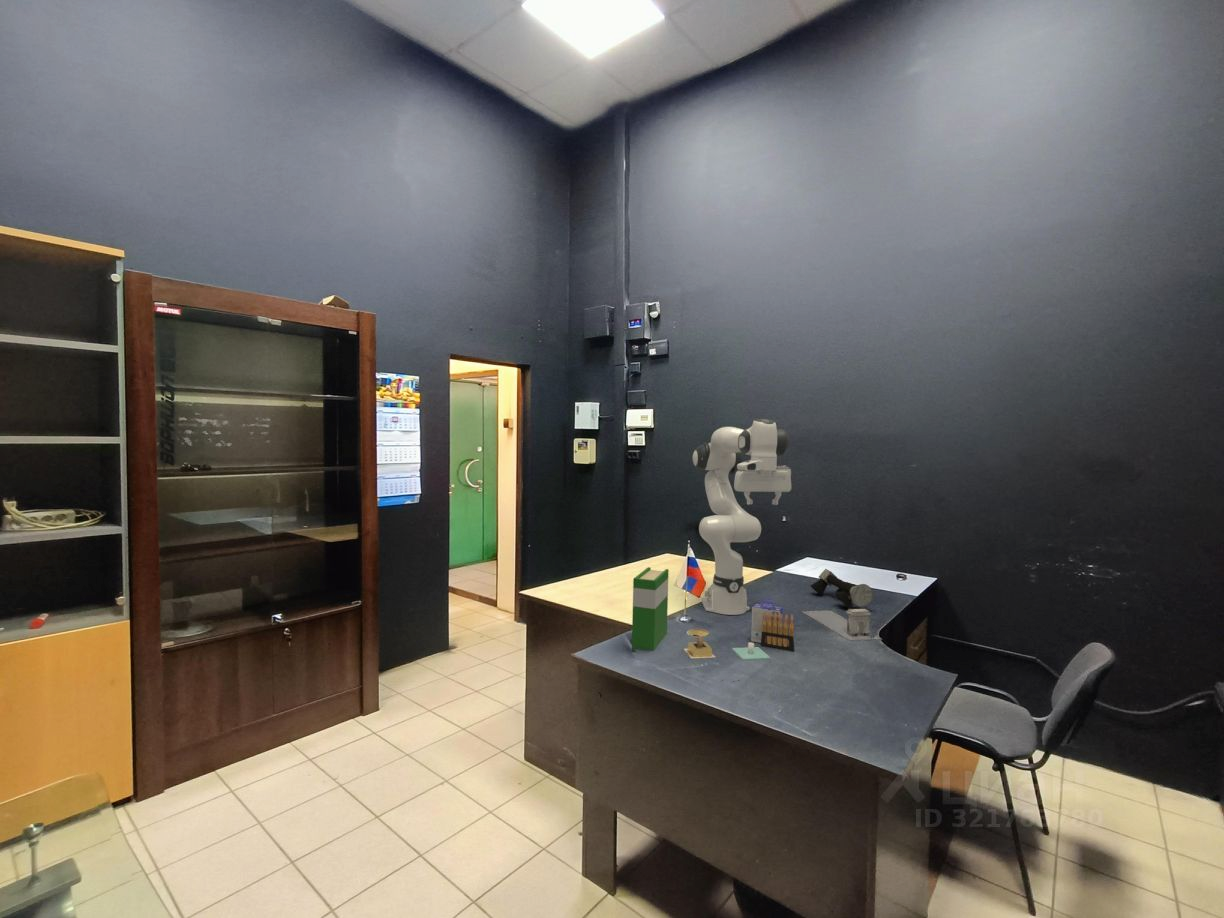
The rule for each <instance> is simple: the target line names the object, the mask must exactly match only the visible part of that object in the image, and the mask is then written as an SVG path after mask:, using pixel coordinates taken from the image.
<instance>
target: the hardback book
mask: <svg viewBox="0 0 1224 918" xmlns="http://www.w3.org/2000/svg"><path fill="white" fill-rule="evenodd" d="M651 568H652V567H649V566H648V567H646V568H645V569H644V570H643V571H641V572H639V574H637V575H636V576H635V577H634V578H633V580H632V581H633V582H632V622H631V624H632V628H631V632H632V633H631V652H632V653H635V652H636V650H635V649H641V650H647V651H653V652H654V651H655V650H656V649H657V647H658V646H659V645H660V643H661V642H662V640H663V639H664V638H665V636H666V635H667V634H668V610H669V609H668V605H669V601H668V600H669V572H670V571H669V569H667V568H665V570H657V569H651ZM636 653H637V652H636Z"/></svg>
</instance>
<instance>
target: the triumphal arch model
mask: <svg viewBox="0 0 1224 918" xmlns="http://www.w3.org/2000/svg"><path fill="white" fill-rule="evenodd" d="M802 613H803V614H805V615H806V616H808V617H809V618H811V619H813V620H815V621H816V622H818V623H819V624H821V625H823V626H824V627H826V628H827V629H830V630H831V631H832V632H833V633H835V634H838V635H839V636H841V637H842V638H845V639H846V640H847V641H849V642H861V641H860V640H867V641H874V640H873V639H876V640H875V641H882V640H883V638H881V637H879V636H878V635H876V636H875V637H874V638H872V640H871V638H870V637H869V632H870V616H872V613H871V611H870V610H867V609H866V608H851V609H849V608H848V609H847V610H846V611H845V613H846V614H847V619H846V618H845V617H843V616H842V615H839V614H837V613H836V612H834V611H832V610H806V611H805V610H804V611H802ZM878 638H879V640H878Z"/></svg>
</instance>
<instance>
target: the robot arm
mask: <svg viewBox="0 0 1224 918" xmlns="http://www.w3.org/2000/svg"><path fill="white" fill-rule="evenodd" d="M790 447H791V439H790V436H789V435H788V433H787V432H786V430H784V429H782V428H781V429H780V428H779V429H777V423H776V422H775V421H774V420H772V419H766V418H760V419H759V418H757V419H755V420H753V421H752V424H751V426H750V427H749V428H747V429H742V428H739V427H735V426H722V427H720V428H718V429H716V430H715V431H714V432H713V433H712V435H711V438H710V442H709V443H707V442H705V441H704V442H703V443H702V444H701V445H698V446H697V447H696V448H695V449H694V450H693V452H692V464H693V466H694V468H695V469H697V470H701V471H705V470H706V471H708V472H707V473H705V475H704V476H705V477H704V486H705V487H704V488H705V489H704V490H705V493H706V497H707V501H708V504H709V507H710V509H711V511H712V512H713V513H714V514H715V515H709V516H705V517H703V518H702V519H701V520H700V522H699V525H698V531H699V536H701V538H702V539H703V540H704V541H705V542H706V543H707V544H708V545H709V546H710V548H711V550H712V551H713V555H714V566H715V567H714V569H715V570H714V571H715V572H714V574H713V579H712V580H713V581H712V584H710V585H709V587H708V588H707V589H706V590H704V597H703V598H701V603H702V605H703V607H704V610H705V611H707V612H713V613H717V614H720V615H721V614H722V615H730V616H731V615H732V616H737V615H743V614H745V613H747V611H750V609H751V607H750V606H749V605H748V599H747V597H748V596H747V590H746V588H744V583H745V579H744V577H745V576H744V573H743V572H744V560H743V557H742V555H741V554H740V553H738V552H737V551H735V550H733V549H732V548H731V543H748V542H753V541H756V540H758V539H759V537H760V536H761V533H762V524H761V522H760V520H759V519H758V518H757V517H756V516H753V515H752V514H750V513H748V512H747V511H746V510H745V509H744V508H742V506H740V504H739V503H738V502H737V499H736V496H735V493H734V491H733V488H734V490H735V492H741V493H743V495H744V497H745V500H746V505H748V506H749V505H750V506H751V505H754V500H753V499H752V498H750V495H751V493H753V492H754V493H758V492H759V493H762V492H763V493H767V492H768V493H774V495H775V497H774V498H773V499H771V501H772V502H771V505H774V506H777V505H779V500H780V498H781V496H782V493H789V492H790V491H791V490H792V480H791V479H792V478H791V476H792V470H791V468H790V467H788V465H777V463H778V461H777V459H778V457H783V456H784V455H785V454H786V453H787V452H788V450H789V449H790ZM744 455H747V456H750V459H749V460H745V461H744ZM729 474H730V475H734V474H735V476H734V483H733V484H734V485H733V487H732V485H731V482H730V480H729Z"/></svg>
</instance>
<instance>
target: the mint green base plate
mask: <svg viewBox="0 0 1224 918" xmlns="http://www.w3.org/2000/svg"><path fill="white" fill-rule="evenodd" d="M731 651H733V653H734V654H736V655H737V656H738V657H739V658H740V659H741V660H742V661H743V662H745V661H746V662H747V661H764V660H766V661H767V660H769V661H771V657H770V656H769V655H768V654H767V653H766V652H765V651H764V650H762V649H761V648H760V647H758V646H755V642H753V641H751V642H748V643H747V647H731Z"/></svg>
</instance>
